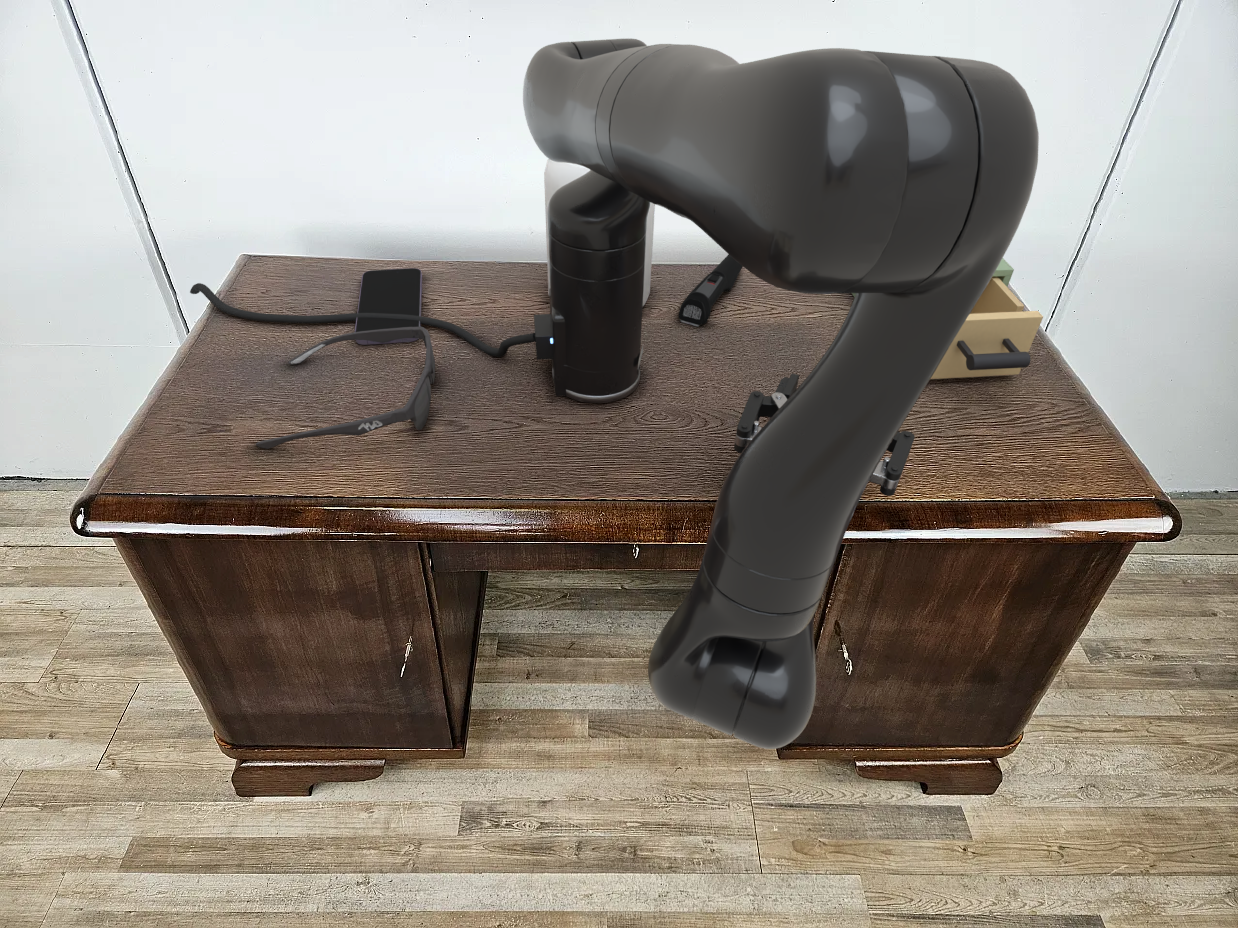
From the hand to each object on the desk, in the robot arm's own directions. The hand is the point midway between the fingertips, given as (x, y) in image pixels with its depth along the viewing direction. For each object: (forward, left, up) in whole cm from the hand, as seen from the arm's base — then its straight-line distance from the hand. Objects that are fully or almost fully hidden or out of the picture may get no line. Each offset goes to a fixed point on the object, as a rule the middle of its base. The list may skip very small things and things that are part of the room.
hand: (839, 393), depth 75 cm
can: (-19, +32, -8) cm, 38 cm away
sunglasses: (-46, +13, -8) cm, 48 cm away
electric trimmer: (-5, +31, -8) cm, 32 cm away
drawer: (+19, +15, -7) cm, 25 cm away
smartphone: (-44, +31, -8) cm, 54 cm away
